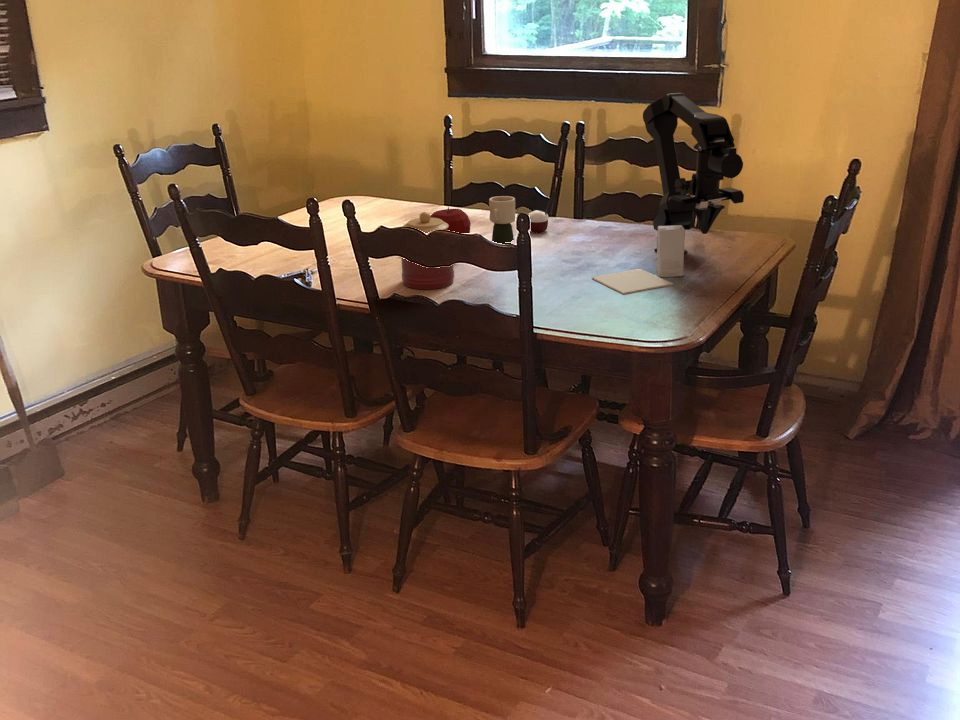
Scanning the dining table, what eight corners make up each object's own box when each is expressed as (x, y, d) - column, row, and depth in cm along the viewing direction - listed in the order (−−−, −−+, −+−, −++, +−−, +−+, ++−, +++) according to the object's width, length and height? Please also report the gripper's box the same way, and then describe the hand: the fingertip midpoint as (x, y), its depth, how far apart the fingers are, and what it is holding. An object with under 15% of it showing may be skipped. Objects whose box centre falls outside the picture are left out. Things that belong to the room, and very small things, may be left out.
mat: (639, 270, 235) (639, 268, 235) (672, 284, 223) (672, 283, 223) (591, 278, 230) (591, 277, 230) (623, 294, 218) (623, 292, 218)
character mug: (498, 238, 267) (497, 193, 262) (522, 240, 264) (521, 195, 259) (483, 248, 257) (482, 202, 252) (507, 251, 255) (506, 204, 250)
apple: (454, 246, 260) (452, 199, 255) (480, 255, 252) (479, 206, 247) (419, 255, 253) (416, 207, 248) (444, 264, 245) (442, 214, 240)
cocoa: (520, 234, 272) (517, 193, 267) (529, 228, 277) (526, 188, 272) (550, 236, 268) (547, 194, 263) (559, 230, 273) (556, 189, 268)
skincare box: (680, 271, 233) (682, 224, 228) (683, 277, 229) (686, 228, 224) (655, 272, 233) (657, 224, 228) (658, 277, 229) (660, 229, 224)
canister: (465, 281, 231) (462, 211, 224) (426, 294, 223) (422, 221, 216) (430, 271, 240) (426, 203, 233) (391, 283, 231) (386, 213, 225)
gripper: (718, 161, 235) (714, 221, 241) (656, 169, 228) (653, 231, 234) (747, 168, 226) (742, 231, 232) (684, 177, 219) (680, 241, 225)
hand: (704, 233), depth 231 cm, fingers closed
